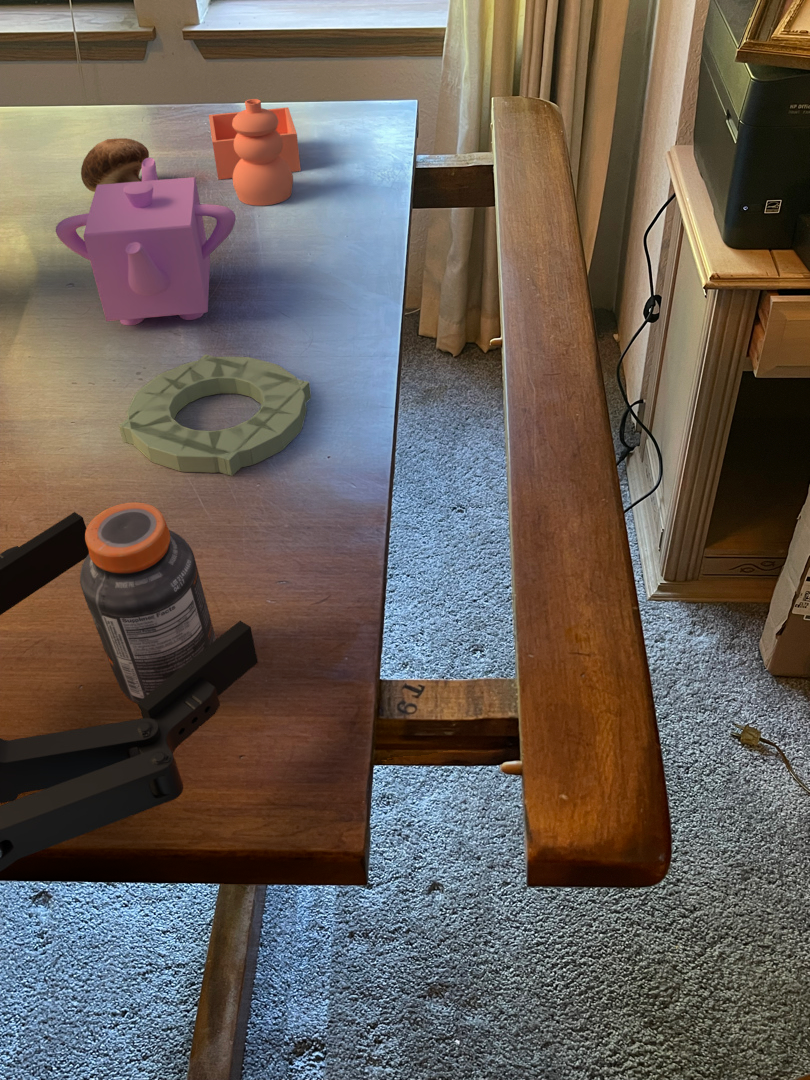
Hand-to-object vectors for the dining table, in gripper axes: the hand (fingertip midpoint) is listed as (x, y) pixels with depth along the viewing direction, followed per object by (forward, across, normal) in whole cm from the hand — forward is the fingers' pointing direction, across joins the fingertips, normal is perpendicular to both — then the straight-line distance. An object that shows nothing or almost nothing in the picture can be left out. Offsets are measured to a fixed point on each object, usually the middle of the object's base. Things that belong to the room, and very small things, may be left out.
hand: (162, 582), depth 51 cm
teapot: (+28, -34, -7) cm, 45 cm away
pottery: (+54, -49, -7) cm, 73 cm away
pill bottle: (-1, 0, -6) cm, 7 cm away
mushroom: (+42, -58, -7) cm, 72 cm away
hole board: (+18, -16, -6) cm, 25 cm away
